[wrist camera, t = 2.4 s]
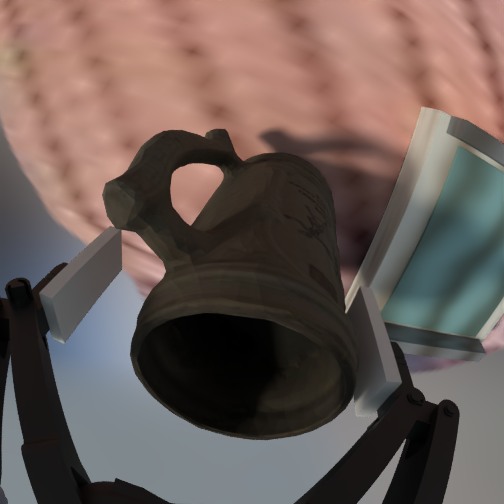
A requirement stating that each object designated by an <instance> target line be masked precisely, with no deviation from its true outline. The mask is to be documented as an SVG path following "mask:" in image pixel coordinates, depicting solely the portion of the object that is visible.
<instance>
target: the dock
mask: <svg viewBox="0 0 504 504" xmlns="http://www.w3.org/2000/svg"><path fill="white" fill-rule="evenodd" d="M360 286H363V287H367V288H371V289H372V290H373V293H374V296H375V299H376V301H377V304H378V307H379V310H380V313H381V316H382V319H383V322H384V325H385V328H386V331H387V334H388V337H389V340H390V341H392V342H397V344H398V345H399V346H400V348H401V349H402V351H403V353H407V354H414V355H422V356H429V357H438V358H446V359H456V360H466V361H476V362H479V361H480V360H481V359H482V358H483V356H484V355H485V354H486V352H485V350H484V348H483V346H482V344H481V343H482V341H483V340H484V339H485V338H486V336H487V335H488V334H489V332H490V331H491V330H492V328H493V327H494V326H495V324H496V323H497V322H498V320H499V319H500V317H501V316H502V315H503V313H504V144H503V143H501V142H500V141H498V140H497V139H496V138H494V137H493V136H491V135H490V134H488V133H487V132H485V131H483V130H482V129H480V128H479V127H477V126H476V125H474V124H472V123H471V122H469V121H467V120H464V119H461V118H457V117H453V116H450V115H448V114H447V113H445V112H443V111H440V110H436V109H431V108H426V107H421V110H420V114H419V117H418V120H417V124H416V127H415V130H414V133H413V136H412V139H411V142H410V145H409V148H408V151H407V154H406V157H405V160H404V163H403V165H402V168H401V171H400V174H399V176H398V179H397V182H396V184H395V187H394V190H393V192H392V195H391V197H390V200H389V202H388V205H387V207H386V210H385V212H384V215H383V217H382V220H381V222H380V224H379V227H378V229H377V231H376V234H375V236H374V238H373V241H372V243H371V245H370V247H369V250H368V252H367V254H366V256H365V258H364V260H363V263H362V265H361V267H360V269H359V271H358V273H357V275H356V277H355V279H354V281H353V284H352V286H351V288H350V290H349V292H348V294H347V296H346V298H345V305H346V311H345V313H347V311H348V309H349V307H350V305H351V303H352V301H353V299H354V297H355V295H356V293H357V291H358V289H359V287H360Z"/></svg>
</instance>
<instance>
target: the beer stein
mask: <svg viewBox="0 0 504 504" xmlns="http://www.w3.org/2000/svg"><path fill="white" fill-rule="evenodd" d="M192 163H204V164H210V165H215V166H217V167H219V168H220V169H221V170H222V172H223V173H224V179H223V181H222V183H221V185H220V186H219V187H218V188H217V190H216V191H215V192H214V194H213V195H212V197H211V198H210V199H209V201H208V202H207V204H206V205H205V206H204V208H203V210H202V211H201V212H200V214H199V215H198V217H197V218H196V220H195V221H194V222H193V224H192V225H191V226H190V225H188V224H187V223H186V222H185V221H184V220H183V219H182V218H181V217H180V215H179V214H178V213H177V212H176V210H175V209H174V208H173V207H172V202H171V194H170V185H171V177H172V173H173V172H174V171H175V170H176V169H178V168H179V167H182V166H185V165H187V164H192ZM102 196H103V200H104V205H105V209H106V213H107V217H108V218H109V219H110V221H111V222H112V224H113V225H114V226H115V228H116V229H121V230H127V231H133V232H136V233H137V234H138V235H139V236H140V237H141V238H142V239H143V240H144V241H145V242H146V244H147V245H148V246H149V247H150V248H151V249H152V250H153V251H154V252H155V253H156V255H157V256H158V257H159V258H160V259H161V260H162V261H163V263H164V266H165V269H166V273H165V275H164V278H163V279H162V280H161V281H160V282H159V283H158V284H157V285H156V286H155V287H154V288H153V289H152V291H151V292H150V294H149V295H148V297H147V298H146V300H145V302H144V304H143V306H142V308H141V311H140V313H139V315H138V318H137V326H136V330H135V332H134V335H133V338H132V342H131V352H130V357H131V361H132V365H133V368H134V371H135V374H136V376H137V377H138V379H139V380H140V381H141V383H142V384H143V386H144V387H145V388H146V390H147V391H148V392H149V393H150V394H151V395H152V396H153V397H154V398H155V399H156V400H157V401H158V402H160V403H161V404H162V405H163V406H164V407H165V408H167V409H168V410H169V411H171V412H172V413H173V414H175V415H177V416H179V417H181V418H183V419H184V420H186V421H188V422H189V423H191V424H193V425H195V426H197V427H198V428H201V429H205V430H208V431H211V432H215V433H219V434H223V435H226V436H230V437H237V438H243V439H252V440H270V439H278V438H285V437H291V436H297V435H301V434H304V433H307V432H310V431H313V430H315V429H317V428H319V427H321V426H323V425H325V424H327V423H329V422H330V421H332V420H333V419H335V418H336V417H337V416H338V415H339V414H340V413H341V412H342V411H344V410H345V409H346V407H347V406H348V404H349V402H350V401H351V399H352V398H353V394H354V391H355V387H356V380H357V371H358V367H359V354H360V349H359V341H358V338H357V334H356V331H355V329H354V327H353V325H352V323H351V321H350V319H349V318H348V316H347V314H346V313H345V311H346V305H345V296H344V288H343V284H342V280H341V273H340V265H339V250H338V246H337V238H336V227H335V223H336V220H335V210H334V206H333V198H332V193H331V191H330V189H329V187H328V185H327V183H326V181H325V179H324V178H323V176H322V175H321V174H320V173H319V171H318V170H317V169H316V168H314V167H313V166H312V165H311V164H310V163H308V162H306V161H304V160H302V159H301V158H299V157H297V156H294V155H290V154H284V153H265V154H260V155H257V156H253V157H251V158H249V159H247V160H245V161H242V160H241V159H240V158H239V157H238V156H237V154H236V153H235V150H234V148H233V145H232V142H231V140H230V137H229V135H228V132H227V131H226V130H225V129H214V130H211V131H209V132H207V133H206V135H205V137H202V136H200V135H197V134H194V133H190V132H187V131H183V130H168V131H163V132H161V133H159V134H156V135H155V136H153V137H152V138H151V139H149V140H148V141H147V142H146V143H145V144H144V145H143V146H141V148H140V149H139V151H138V153H137V154H136V156H135V158H134V159H133V161H132V163H131V165H130V166H129V168H128V170H127V171H126V172H125V173H124V174H123V175H121V176H119V177H117V178H115V179H113V180H111V181H109V182H108V183H106V184H105V187H104V191H103V194H102Z"/></svg>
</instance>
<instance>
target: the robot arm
mask: <svg viewBox="0 0 504 504" xmlns="http://www.w3.org/2000/svg"><path fill="white" fill-rule="evenodd" d="M121 270H122V245H121V229H116V228H115V227H112V226H110V227H109V228H107V229H106V230H105V231H104V232H103V233H102V234H100V235H99V236H98V237H97V238H96V239H95V240H94V241H93V242H91V243H90V244H89V245H88V246H87V247H86V248H85V249H84V250H83V251H82V252H81V253H79V254H78V255H77V256H76V257H75V258H74V259H73V260H72V261H71V262H70V263H69V264H68V263H62V264H60V265H58V266H56V267H55V268H54V269H53V270H52V271H50V273H49V274H47V275H46V276H45V278H43V279H42V280H41V281H40V282H39V283H38V284H37V285H36V286H35V287H34V288H33V289H31V285H30V282H29V280H27V279H25V278H16V279H13V280H11V281H10V282H8V284H7V285H6V287H5V291H6V294H7V297H8V299H5V298H1V297H0V484H1V474H2V472H1V470H2V460H1V459H2V457H1V456H2V455H1V443H2V442H1V441H2V416H3V404H4V395H5V386H6V378H7V372H8V365H9V359H10V354H11V364H12V374H13V383H14V391H15V398H16V404H17V410H18V415H19V421H20V425H21V430H22V434H23V439H24V444H23V445H22V446H21V451H22V456H23V459H24V463H25V467H26V470H27V473H28V477H29V480H30V483H31V486H32V489H33V491H34V495H35V497H36V500H37V503H38V504H173V503H169V502H167V501H165V500H163V499H162V498H160V497H158V496H156V495H154V494H152V493H151V492H149V491H147V490H146V489H144V488H142V487H139V486H136V485H133V484H130V483H128V482H125V481H122V480H120V479H117V478H116V479H115V482H106V481H102V482H94V483H91V481H90V479H89V477H88V475H87V473H86V471H85V469H84V468H83V466H82V464H81V462H80V459H79V457H78V454H77V452H76V449H75V446H74V443H73V441H72V438H71V435H70V432H69V429H68V426H67V423H66V419H65V416H64V412H63V409H62V405H61V402H60V398H59V395H58V390H57V387H56V382H55V378H54V374H53V369H52V364H51V359H50V353H49V348H48V342H47V338H46V334H47V332H48V331H49V330H50V332H51V335H52V338H53V339H55V340H57V341H59V342H62V343H64V344H65V342H66V341H67V340H68V338H69V337H70V336H71V334H72V333H73V331H74V330H75V329H76V327H77V326H78V324H79V323H80V322H81V321H82V319H83V318H84V317H85V315H86V314H87V313H88V311H89V310H90V309H91V307H92V306H93V305H94V303H95V302H96V301H97V299H98V298H99V297H100V296H101V295H102V293H103V292H104V291H105V290H106V288H107V287H108V286H109V285H110V283H111V282H112V281H113V280H114V278H115V277H116V276H117V275H118V274H119V272H120V271H121ZM346 314H347V316H348V318H349V319H350V321H351V323H352V325H353V327H354V329H355V331H356V334H357V338H358V341H359V349H360V354H359V367H358V371H357V380H356V387H355V391H354V394H353V395H354V403H355V410H356V416H359V417H371V416H372V415H373V414H374V413H375V412H376V411H377V413H378V418H377V419H376V420H375V421H374V422H373V423H372V424H371V425H370V426H369V427H368V428H367V430H366V432H365V433H364V434H363V435H362V436H361V438H360V439H359V440H358V441H357V442H356V443H355V444H354V445H353V446H352V448H351V449H350V450H349V451H348V452H347V453H346V454H345V455H344V456H343V457H342V458H341V459H340V461H339V462H338V463H337V464H336V465H335V466H334V467H333V468H332V469H331V470H330V471H329V472H328V473H327V474H326V475H325V476H324V477H323V478H322V479H320V480H319V481H318V482H317V483H316V484H315V485H314V486H313V487H312V488H311V489H310V490H309V491H308V492H307V493H305V494H304V495H303V496H302V497H301V498H300V499H299V500H298V501H296V502H295V503H294V504H357V503H358V501H359V500H360V499H361V498H362V497H363V496H364V494H365V493H366V492H367V491H368V489H369V488H370V487H371V485H372V484H373V483H374V482H375V481H376V479H377V478H378V477H379V475H380V474H381V473H382V471H383V470H384V469H385V467H386V466H387V465H388V463H389V462H390V461H391V459H392V458H393V456H394V455H395V453H396V452H397V450H398V449H399V447H400V446H401V444H402V443H403V441H404V440H405V439H406V442H405V445H404V448H403V451H402V454H401V457H400V460H399V463H398V465H397V468H396V471H395V473H394V476H393V479H392V481H391V484H390V486H389V489H388V491H387V493H386V496H385V498H384V500H383V503H382V504H442V503H443V499H444V495H445V492H446V488H447V484H448V479H449V475H450V471H451V466H452V461H453V455H454V450H455V444H456V438H457V432H458V424H459V409H458V407H457V406H456V404H455V403H453V402H452V401H451V400H443V401H441V402H440V403H439V404H438V405H437V404H434V403H431V402H428V401H426V400H425V397H424V395H423V393H422V392H421V391H420V390H418V389H416V388H414V386H413V383H412V379H411V376H410V373H409V369H408V366H407V363H406V360H405V357H404V354H403V351H402V349H401V348H400V346H399V345H398V344H397V342H392V341H390V340H389V337H388V334H387V331H386V328H385V325H384V322H383V319H382V316H381V313H380V310H379V307H378V304H377V301H376V299H375V296H374V293H373V290H372V289H371V288H367V287H363V286H360V287H359V289H358V291H357V293H356V295H355V297H354V299H353V301H352V303H351V305H350V307H349V309H348V311H347V313H346ZM0 504H8V501H7V498H6V497H5V494H4V491H3V489H2V488H1V487H0Z"/></svg>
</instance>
